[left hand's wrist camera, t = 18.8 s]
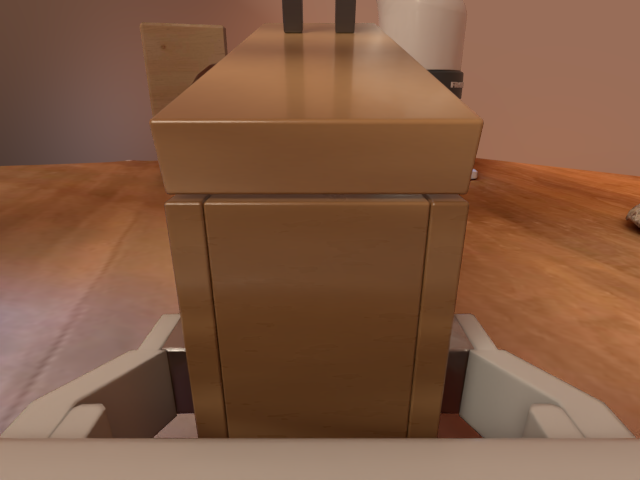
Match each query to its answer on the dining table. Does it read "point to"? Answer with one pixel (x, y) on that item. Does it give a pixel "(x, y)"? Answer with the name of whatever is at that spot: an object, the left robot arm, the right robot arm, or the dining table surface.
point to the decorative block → (178, 57)
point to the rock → (634, 215)
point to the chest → (317, 311)
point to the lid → (317, 117)
